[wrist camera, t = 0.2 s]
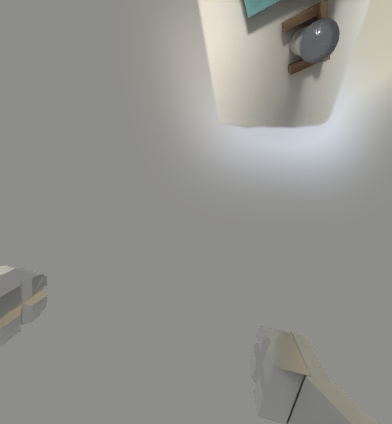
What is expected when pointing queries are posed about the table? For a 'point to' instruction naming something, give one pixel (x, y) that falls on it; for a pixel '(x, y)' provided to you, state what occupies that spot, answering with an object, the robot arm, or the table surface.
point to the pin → (315, 40)
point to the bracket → (317, 10)
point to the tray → (257, 6)
